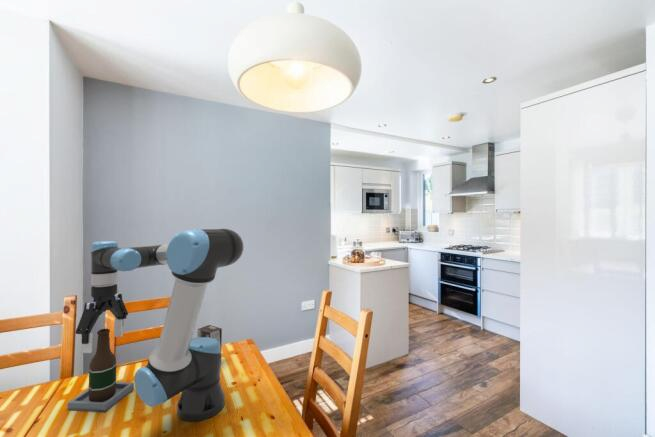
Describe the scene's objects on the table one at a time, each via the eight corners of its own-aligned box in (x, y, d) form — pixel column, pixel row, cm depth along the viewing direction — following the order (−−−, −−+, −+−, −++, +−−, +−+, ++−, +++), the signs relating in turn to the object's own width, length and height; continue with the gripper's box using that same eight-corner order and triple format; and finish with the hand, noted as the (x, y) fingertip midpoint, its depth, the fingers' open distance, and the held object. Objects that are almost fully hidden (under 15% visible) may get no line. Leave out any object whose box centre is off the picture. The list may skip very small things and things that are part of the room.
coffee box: (221, 364, 133) (222, 328, 133) (209, 370, 128) (210, 333, 128) (208, 359, 138) (209, 324, 138) (196, 364, 133) (197, 328, 133)
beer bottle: (101, 405, 102) (102, 335, 102) (82, 401, 104) (83, 332, 104) (121, 392, 110) (122, 327, 110) (103, 389, 111) (104, 325, 111)
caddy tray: (133, 389, 113) (133, 382, 113) (105, 412, 100) (105, 404, 100) (100, 387, 114) (100, 380, 114) (67, 409, 101) (67, 402, 101)
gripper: (120, 277, 120) (120, 330, 119) (61, 292, 95) (60, 360, 95) (138, 278, 119) (138, 331, 119) (83, 293, 94) (83, 360, 94)
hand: (104, 344), depth 107 cm, fingers open, 13 cm apart
